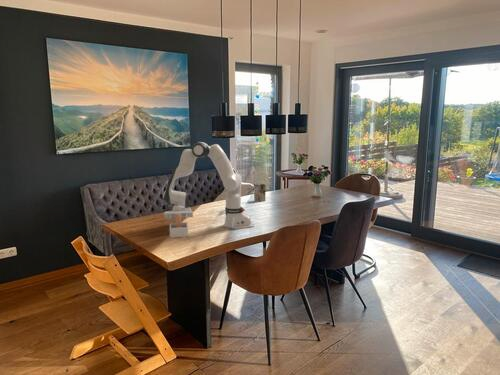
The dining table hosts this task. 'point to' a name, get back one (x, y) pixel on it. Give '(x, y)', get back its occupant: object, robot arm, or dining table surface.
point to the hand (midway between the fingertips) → (178, 217)
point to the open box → (178, 230)
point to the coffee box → (259, 192)
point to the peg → (178, 220)
